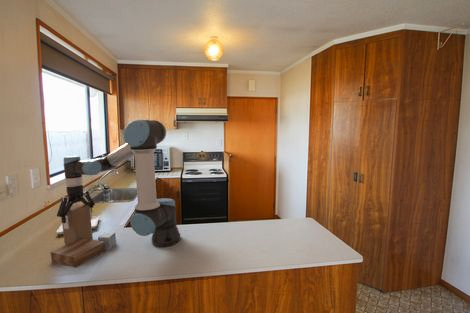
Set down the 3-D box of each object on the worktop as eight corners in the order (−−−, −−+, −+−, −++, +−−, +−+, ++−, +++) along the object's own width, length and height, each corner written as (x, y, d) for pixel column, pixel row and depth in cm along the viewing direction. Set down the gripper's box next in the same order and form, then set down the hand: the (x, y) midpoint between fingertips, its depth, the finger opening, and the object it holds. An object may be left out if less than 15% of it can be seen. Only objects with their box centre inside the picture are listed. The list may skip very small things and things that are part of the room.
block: (77, 247, 133) (73, 210, 131) (63, 244, 137) (59, 208, 134) (93, 238, 143) (90, 204, 140) (80, 236, 146) (76, 203, 144)
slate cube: (116, 243, 137) (115, 232, 136) (109, 248, 131) (108, 237, 130) (105, 243, 137) (104, 232, 137) (98, 248, 132) (97, 237, 131)
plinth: (105, 251, 128) (104, 241, 128) (76, 267, 113) (74, 257, 113) (82, 246, 134) (81, 237, 133) (51, 262, 119) (50, 252, 118)
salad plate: (64, 225, 166) (63, 220, 166) (100, 219, 174) (100, 214, 174) (56, 237, 147) (55, 232, 146) (97, 230, 155) (96, 225, 155)
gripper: (90, 179, 147) (93, 214, 150) (45, 190, 124) (50, 231, 127) (99, 180, 145) (103, 216, 147) (55, 191, 121) (60, 233, 124)
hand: (78, 223), depth 137 cm, fingers open, 13 cm apart
